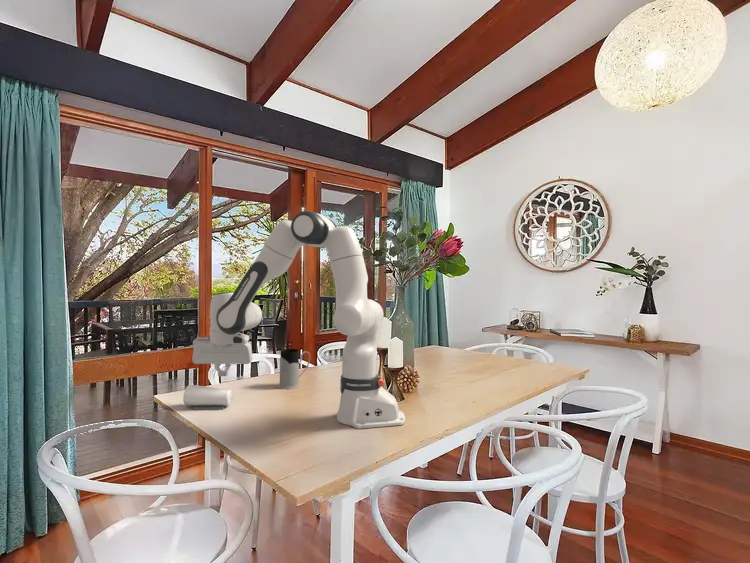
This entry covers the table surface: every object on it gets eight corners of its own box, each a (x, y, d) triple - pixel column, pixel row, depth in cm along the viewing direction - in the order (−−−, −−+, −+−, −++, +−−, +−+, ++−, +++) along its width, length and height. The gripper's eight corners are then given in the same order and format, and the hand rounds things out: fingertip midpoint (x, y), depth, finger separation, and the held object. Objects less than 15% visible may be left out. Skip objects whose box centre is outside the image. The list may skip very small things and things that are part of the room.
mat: (232, 399, 157) (232, 397, 157) (223, 409, 145) (223, 408, 145) (204, 399, 156) (204, 397, 156) (193, 409, 144) (193, 408, 144)
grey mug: (274, 385, 176) (275, 350, 176) (304, 380, 186) (304, 346, 185) (285, 390, 170) (285, 353, 169) (315, 384, 179) (315, 349, 179)
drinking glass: (234, 388, 152) (192, 384, 152) (229, 388, 146) (185, 384, 145) (231, 407, 150) (189, 404, 150) (225, 408, 144) (181, 405, 143)
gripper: (189, 338, 146) (189, 378, 147) (249, 338, 148) (249, 378, 148) (196, 335, 153) (195, 373, 153) (253, 336, 154) (253, 373, 155)
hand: (222, 375), depth 151 cm, fingers closed
